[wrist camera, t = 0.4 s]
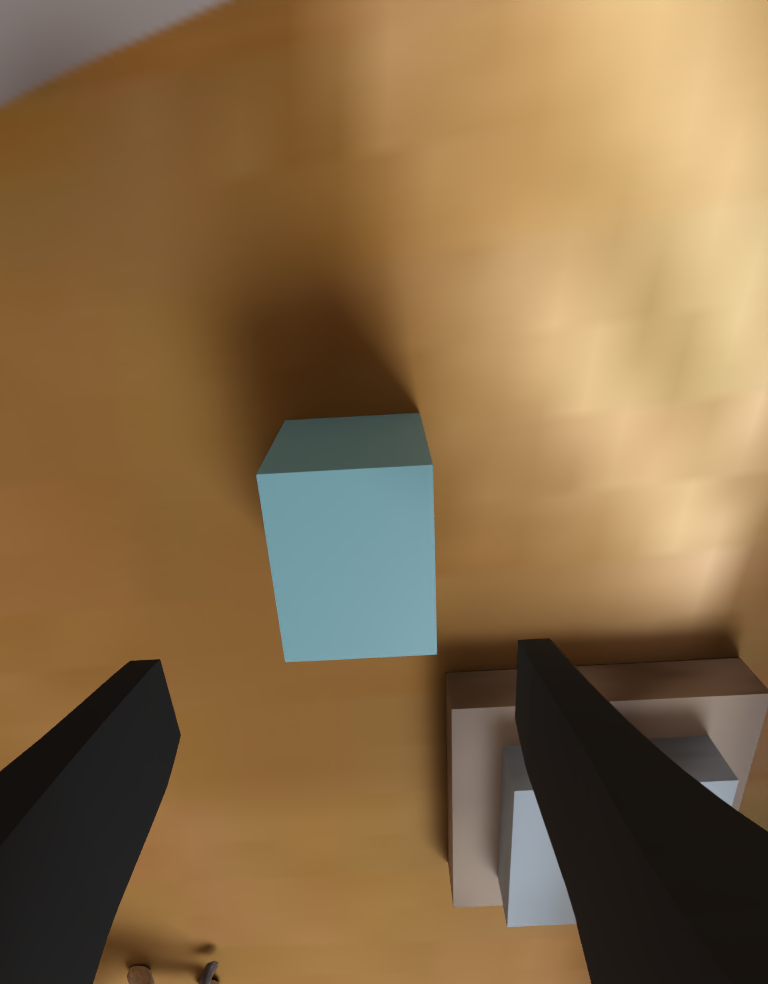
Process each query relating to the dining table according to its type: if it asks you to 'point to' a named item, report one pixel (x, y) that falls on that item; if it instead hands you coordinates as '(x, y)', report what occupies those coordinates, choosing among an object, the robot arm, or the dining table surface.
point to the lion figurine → (143, 979)
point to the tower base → (629, 695)
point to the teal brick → (351, 537)
